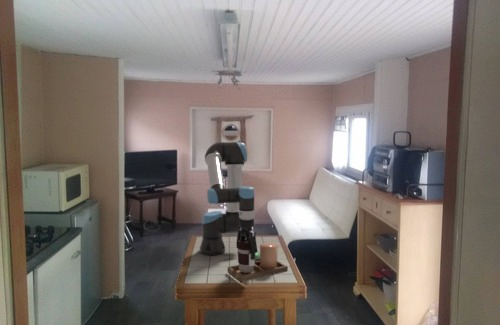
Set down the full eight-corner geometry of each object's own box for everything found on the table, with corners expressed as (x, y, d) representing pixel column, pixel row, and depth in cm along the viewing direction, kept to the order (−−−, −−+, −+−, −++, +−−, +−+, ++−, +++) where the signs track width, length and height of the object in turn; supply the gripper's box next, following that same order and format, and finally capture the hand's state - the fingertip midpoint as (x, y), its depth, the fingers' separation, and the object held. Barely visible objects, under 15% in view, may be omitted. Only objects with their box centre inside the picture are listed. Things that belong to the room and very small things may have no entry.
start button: (249, 259, 209) (249, 253, 209) (256, 257, 211) (256, 252, 211) (253, 261, 205) (253, 256, 205) (261, 260, 207) (261, 254, 207)
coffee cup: (239, 275, 186) (239, 244, 184) (234, 267, 195) (234, 238, 194) (258, 273, 188) (258, 243, 187) (253, 265, 198) (253, 237, 196)
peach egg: (256, 266, 200) (256, 244, 199) (271, 263, 204) (271, 241, 203) (265, 272, 192) (265, 249, 191) (280, 269, 197) (281, 246, 195)
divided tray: (227, 273, 195) (227, 266, 194) (272, 263, 208) (272, 258, 208) (240, 282, 183) (240, 276, 182) (287, 272, 196) (287, 266, 195)
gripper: (229, 214, 197) (229, 256, 199) (251, 224, 178) (251, 271, 180) (242, 212, 201) (242, 254, 203) (265, 222, 181) (264, 268, 184)
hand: (246, 262), depth 191 cm, fingers closed on coffee cup, 10 cm apart
